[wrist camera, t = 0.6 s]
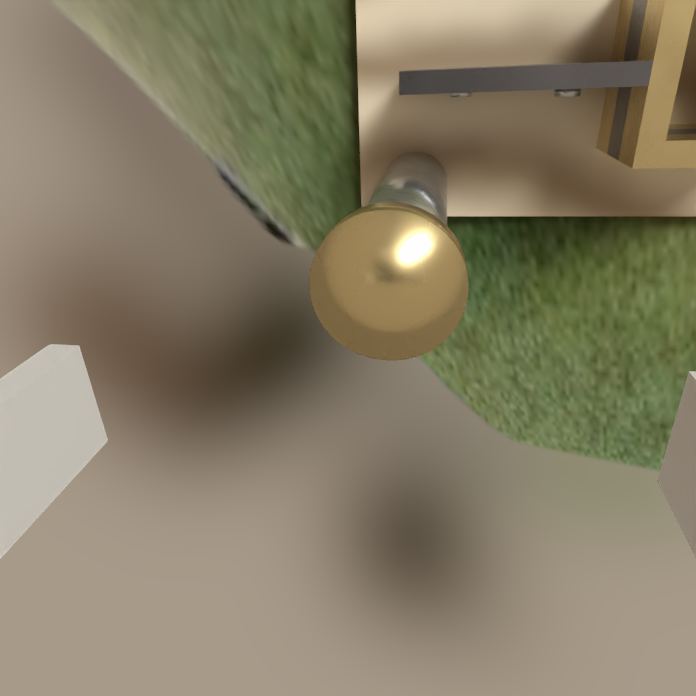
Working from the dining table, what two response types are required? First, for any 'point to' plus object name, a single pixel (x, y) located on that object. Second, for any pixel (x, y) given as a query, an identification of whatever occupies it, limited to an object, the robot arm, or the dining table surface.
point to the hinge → (605, 84)
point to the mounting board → (507, 109)
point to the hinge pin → (393, 267)
